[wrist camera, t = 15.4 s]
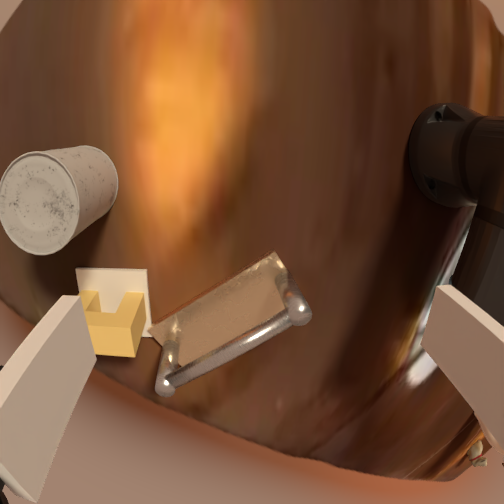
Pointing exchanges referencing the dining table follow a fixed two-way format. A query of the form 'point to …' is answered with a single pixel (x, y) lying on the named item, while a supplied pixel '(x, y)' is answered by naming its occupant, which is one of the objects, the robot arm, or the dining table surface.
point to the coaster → (115, 287)
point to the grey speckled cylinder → (55, 196)
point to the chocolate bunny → (477, 455)
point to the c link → (115, 323)
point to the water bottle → (490, 437)
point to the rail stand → (227, 321)
